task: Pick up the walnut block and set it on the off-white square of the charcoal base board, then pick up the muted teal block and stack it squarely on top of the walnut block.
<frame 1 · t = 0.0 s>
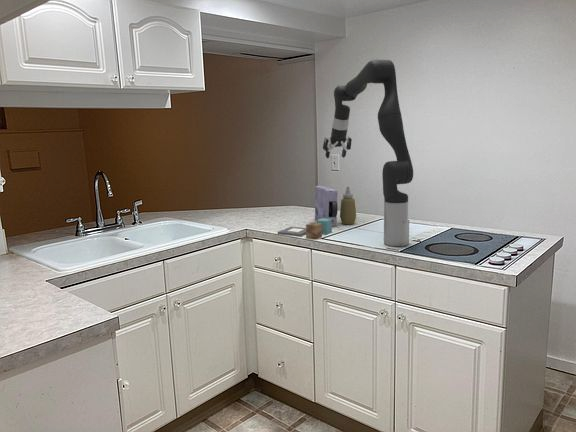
hand: (335, 157, 234), 31 cm above the worktop, tool tilted 20°, fingers open, 8 cm apart
walnut block: (314, 237, 202), on the worktop
squeeze bottle: (348, 223, 228), on the worktop
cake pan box: (326, 223, 230), on the worktop
base board: (295, 232, 212), on the worktop
teal block: (324, 232, 210), on the worktop
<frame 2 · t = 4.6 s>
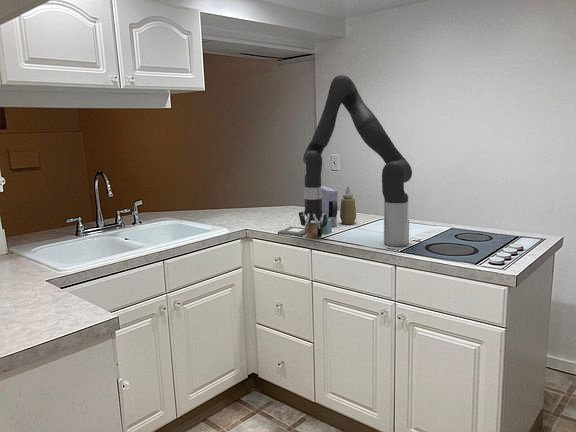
hand: (313, 235, 202), 1 cm above the worktop, tool pointing down, fingers closed on walnut block, 5 cm apart
walnut block: (314, 237, 202), on the worktop, touching gripper
everything else where it was.
when the fingers open (3 cm above the worktop, at t = 9.4 s): walnut block drops 1 cm, resting on base board.
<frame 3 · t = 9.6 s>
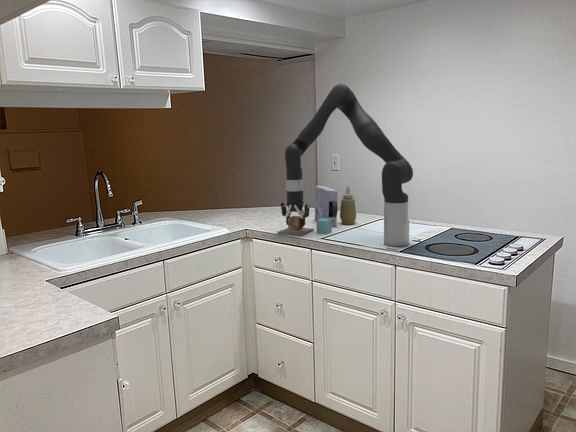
hand: (295, 225, 212), 3 cm above the worktop, tool pointing down, fingers open, 6 cm apart
walnut block: (295, 230, 212), point 1 cm above the worktop, touching base board
everything else where it was.
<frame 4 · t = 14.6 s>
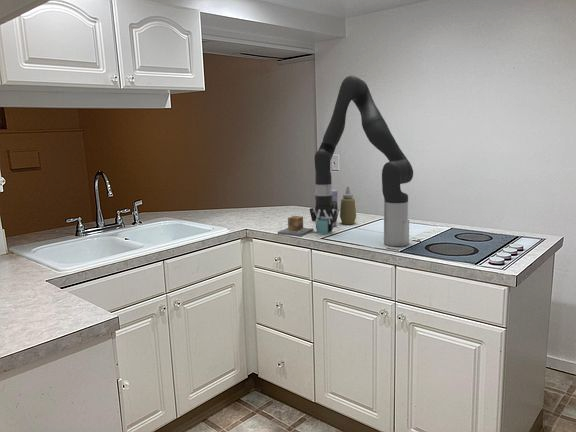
hand: (324, 231, 210), 1 cm above the worktop, tool pointing down, fingers closed on teal block, 5 cm apart
teal block: (324, 232, 210), on the worktop, touching gripper
everything else where it was.
when the fingers open (9 cm above the worktop, at t = 19.9 s): teal block stays where it is, resting on walnut block.
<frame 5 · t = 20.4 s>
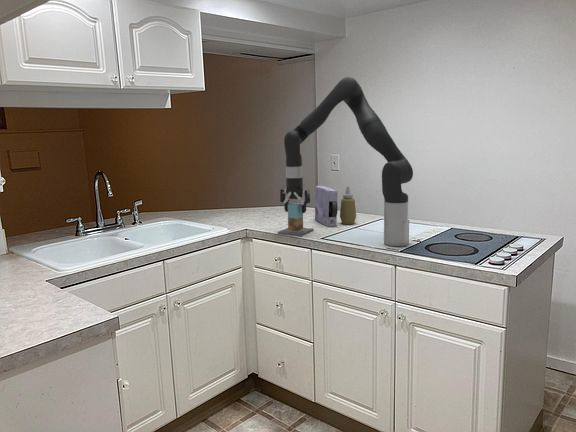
hand: (295, 212, 210), 9 cm above the worktop, tool pointing down, fingers open, 8 cm apart
walnut block: (295, 230, 212), point 1 cm above the worktop, touching base board, teal block
teal block: (295, 217, 211), point 7 cm above the worktop, touching walnut block
everything else where it was.
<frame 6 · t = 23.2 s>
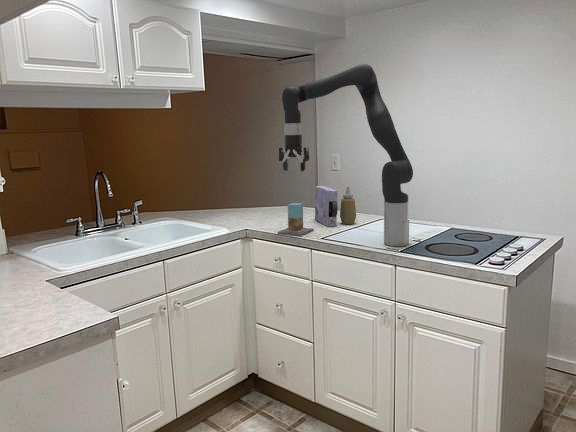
hand: (294, 170, 207), 28 cm above the worktop, tool pointing down, fingers open, 8 cm apart
nothing on the worktop moved.
at the end: walnut block 0.0 cm off-centre on the base board, point 1.1 cm above the base board's base; teal block 0.1 cm off-centre on the walnut block, point 6.0 cm above the walnut block's base; teal block tilted 0° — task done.
